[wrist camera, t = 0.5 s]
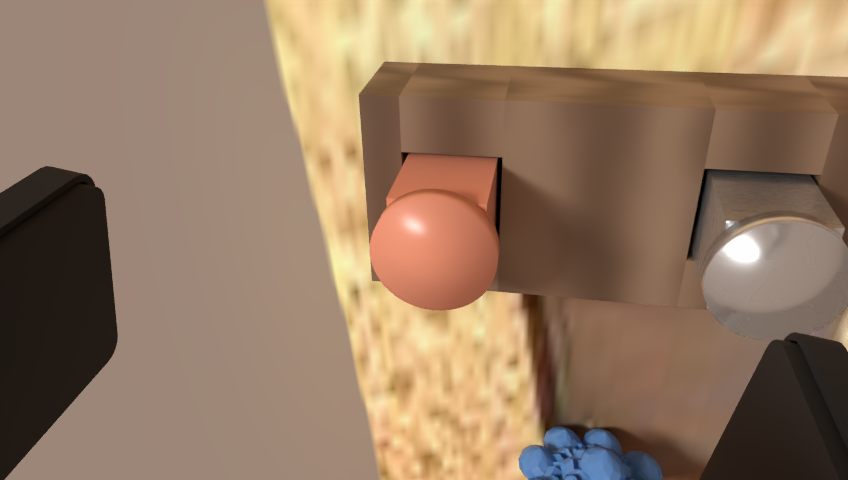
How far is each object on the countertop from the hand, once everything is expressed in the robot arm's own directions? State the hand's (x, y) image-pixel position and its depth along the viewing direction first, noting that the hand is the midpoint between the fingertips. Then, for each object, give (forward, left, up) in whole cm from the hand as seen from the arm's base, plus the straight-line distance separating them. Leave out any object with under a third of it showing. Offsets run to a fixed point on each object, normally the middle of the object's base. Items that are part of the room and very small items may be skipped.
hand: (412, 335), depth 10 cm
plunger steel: (+4, +17, -29) cm, 34 cm away
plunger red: (+12, +3, -29) cm, 31 cm away
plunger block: (+8, +10, -34) cm, 36 cm away
